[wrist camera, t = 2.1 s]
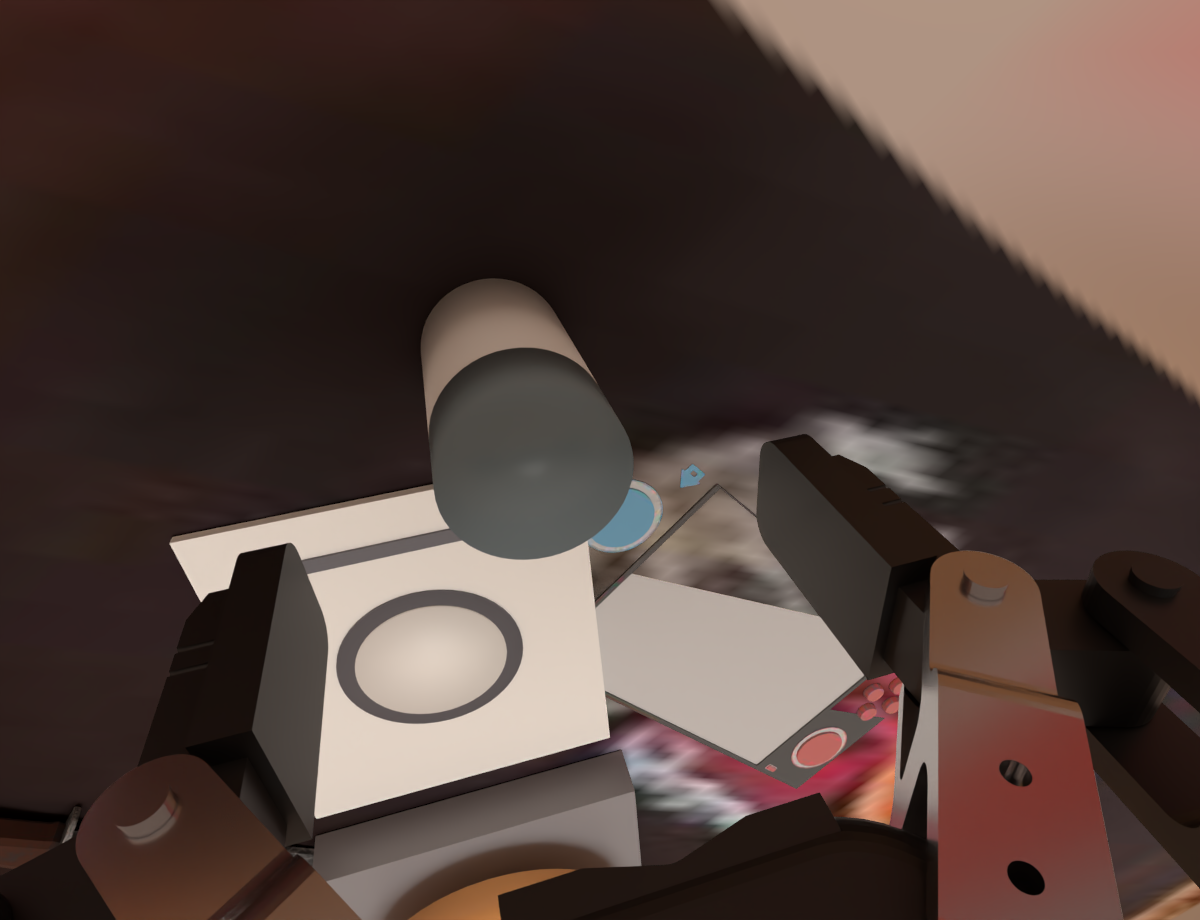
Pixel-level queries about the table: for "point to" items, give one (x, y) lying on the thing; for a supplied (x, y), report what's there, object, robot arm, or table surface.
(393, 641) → the paper
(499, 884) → the button
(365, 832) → the button base
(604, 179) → the table surface
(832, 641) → the gaming console
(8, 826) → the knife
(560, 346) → the beige capped tube
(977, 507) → the table surface
